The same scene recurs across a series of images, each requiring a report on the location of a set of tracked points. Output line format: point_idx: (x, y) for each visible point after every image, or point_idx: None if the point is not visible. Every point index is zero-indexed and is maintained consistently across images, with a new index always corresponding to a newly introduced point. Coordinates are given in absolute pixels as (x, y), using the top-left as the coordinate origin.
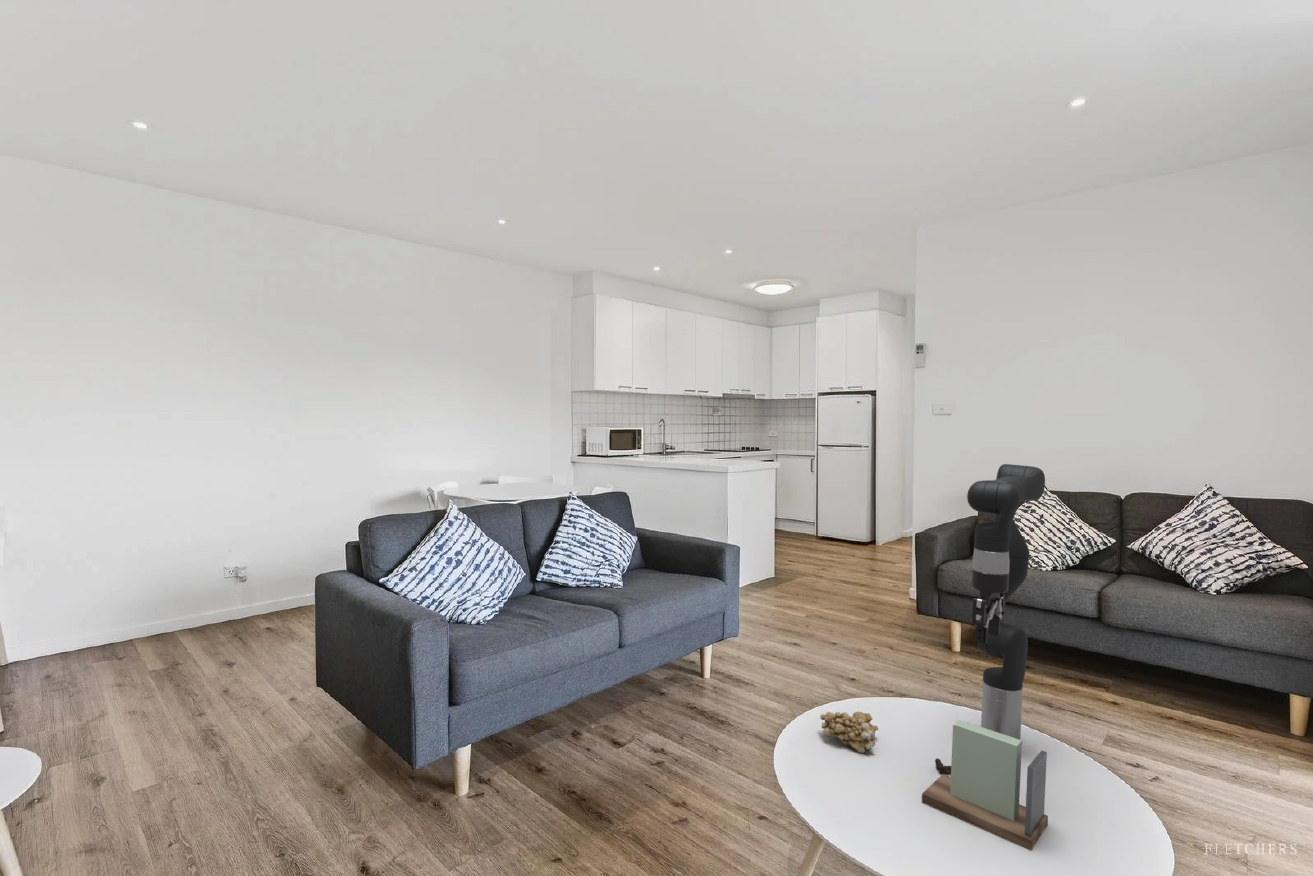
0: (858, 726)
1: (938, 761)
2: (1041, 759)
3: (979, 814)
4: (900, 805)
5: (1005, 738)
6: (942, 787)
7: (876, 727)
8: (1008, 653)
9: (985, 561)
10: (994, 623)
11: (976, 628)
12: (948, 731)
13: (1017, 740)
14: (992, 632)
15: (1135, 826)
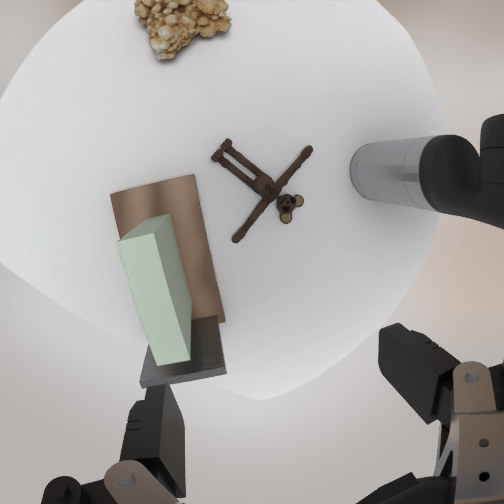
0: (157, 26)
1: (222, 147)
2: (192, 379)
3: None
4: (81, 183)
5: (165, 340)
6: (153, 199)
7: (223, 27)
8: (484, 214)
9: None
10: (416, 390)
11: (137, 447)
12: (357, 94)
13: (182, 355)
14: (387, 349)
15: (316, 361)
